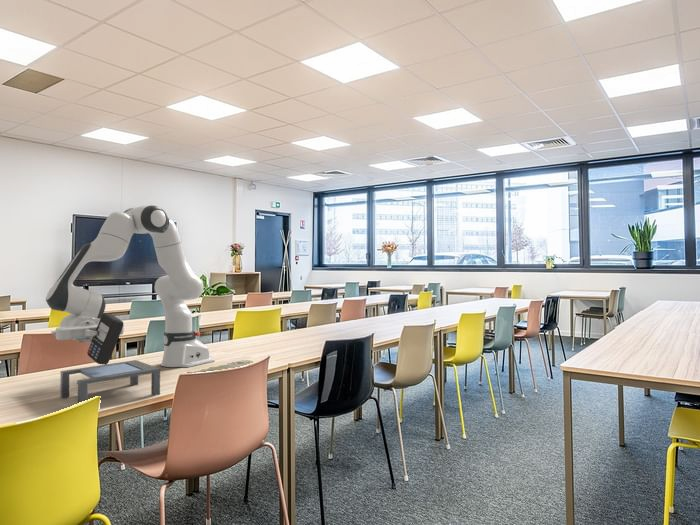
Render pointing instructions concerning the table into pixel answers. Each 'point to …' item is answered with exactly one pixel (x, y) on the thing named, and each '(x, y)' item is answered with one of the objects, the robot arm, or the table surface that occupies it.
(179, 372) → the table surface
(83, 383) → the stand
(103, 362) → the card reader
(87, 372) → the trapdoor
